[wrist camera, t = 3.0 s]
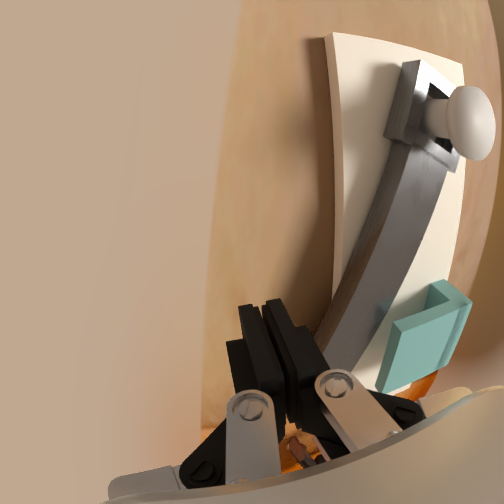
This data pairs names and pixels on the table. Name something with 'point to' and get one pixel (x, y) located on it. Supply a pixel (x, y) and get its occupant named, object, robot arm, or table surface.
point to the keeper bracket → (424, 338)
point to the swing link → (390, 220)
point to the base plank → (375, 157)
